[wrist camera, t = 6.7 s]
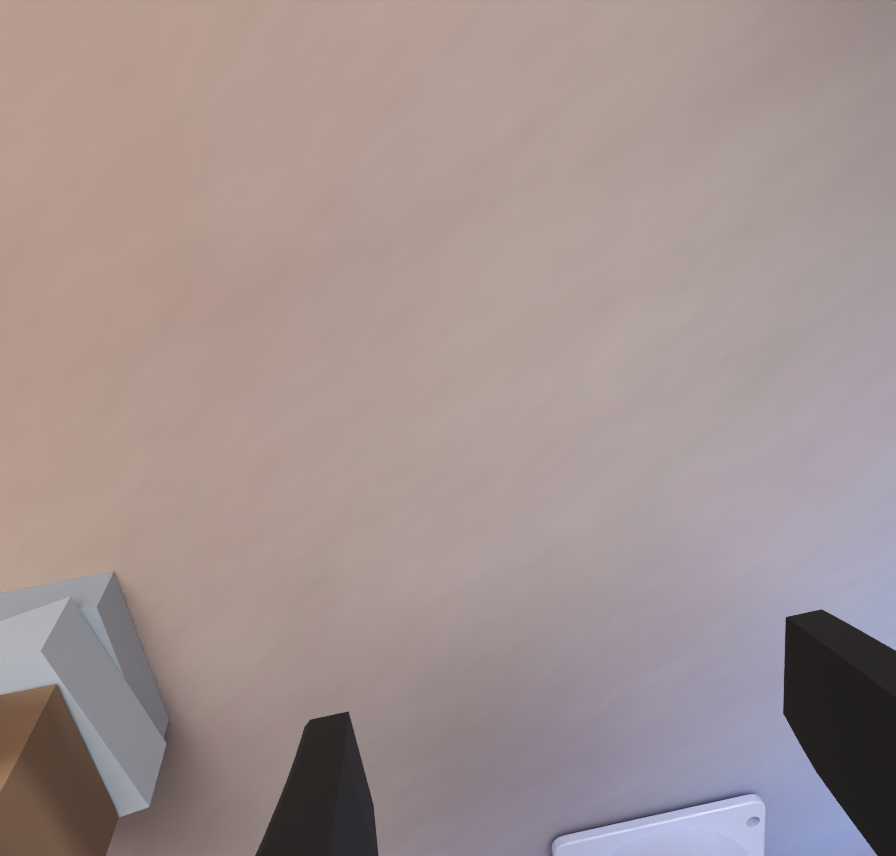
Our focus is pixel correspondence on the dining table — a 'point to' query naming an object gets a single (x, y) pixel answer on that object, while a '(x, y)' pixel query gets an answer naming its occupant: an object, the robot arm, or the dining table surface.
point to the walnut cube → (49, 781)
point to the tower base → (100, 630)
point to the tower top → (86, 696)
